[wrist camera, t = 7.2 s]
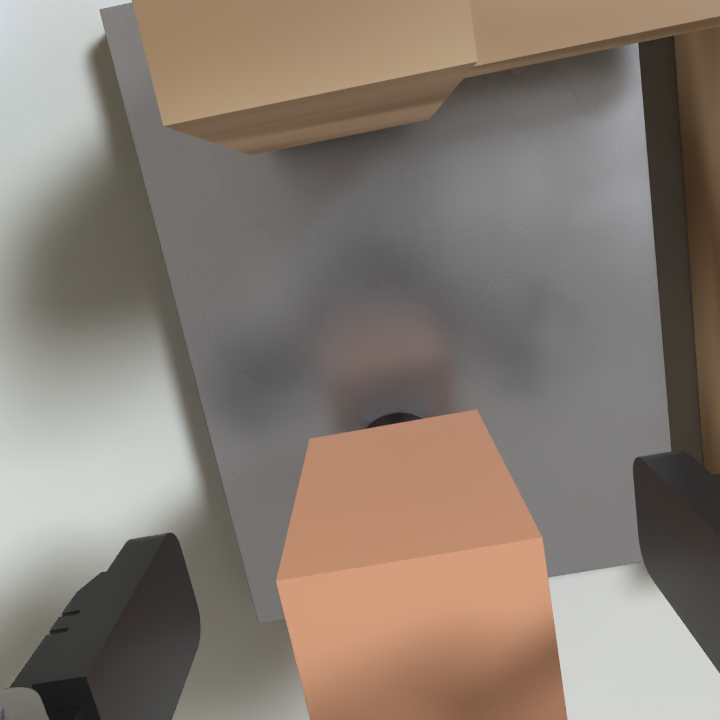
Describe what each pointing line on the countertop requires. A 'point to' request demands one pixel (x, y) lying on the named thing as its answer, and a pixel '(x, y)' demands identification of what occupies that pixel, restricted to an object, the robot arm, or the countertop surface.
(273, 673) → the countertop surface
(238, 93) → the gauge rule
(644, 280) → the bolt plate
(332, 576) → the block
